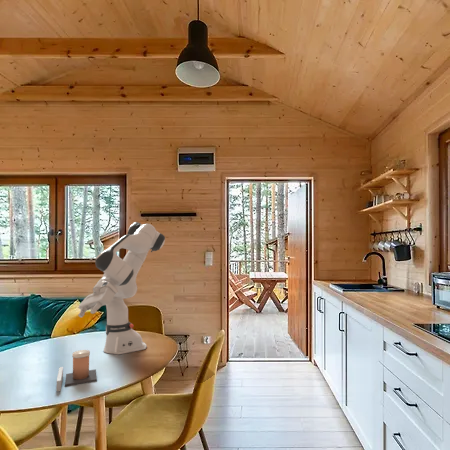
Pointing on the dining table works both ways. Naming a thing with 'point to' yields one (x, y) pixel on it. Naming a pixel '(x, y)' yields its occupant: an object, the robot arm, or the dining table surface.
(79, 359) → the jar
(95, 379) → the plate
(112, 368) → the dining table surface
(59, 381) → the divider
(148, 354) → the dining table surface
